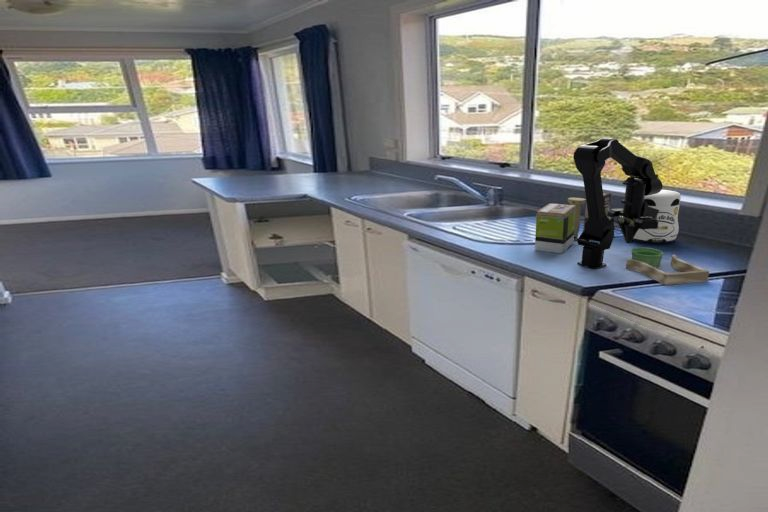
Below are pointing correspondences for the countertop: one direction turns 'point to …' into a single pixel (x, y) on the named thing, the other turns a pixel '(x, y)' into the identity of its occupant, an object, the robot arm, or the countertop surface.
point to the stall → (685, 276)
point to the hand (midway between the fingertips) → (628, 243)
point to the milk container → (662, 218)
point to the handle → (577, 212)
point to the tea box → (555, 227)
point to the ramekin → (647, 256)
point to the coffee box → (606, 202)
